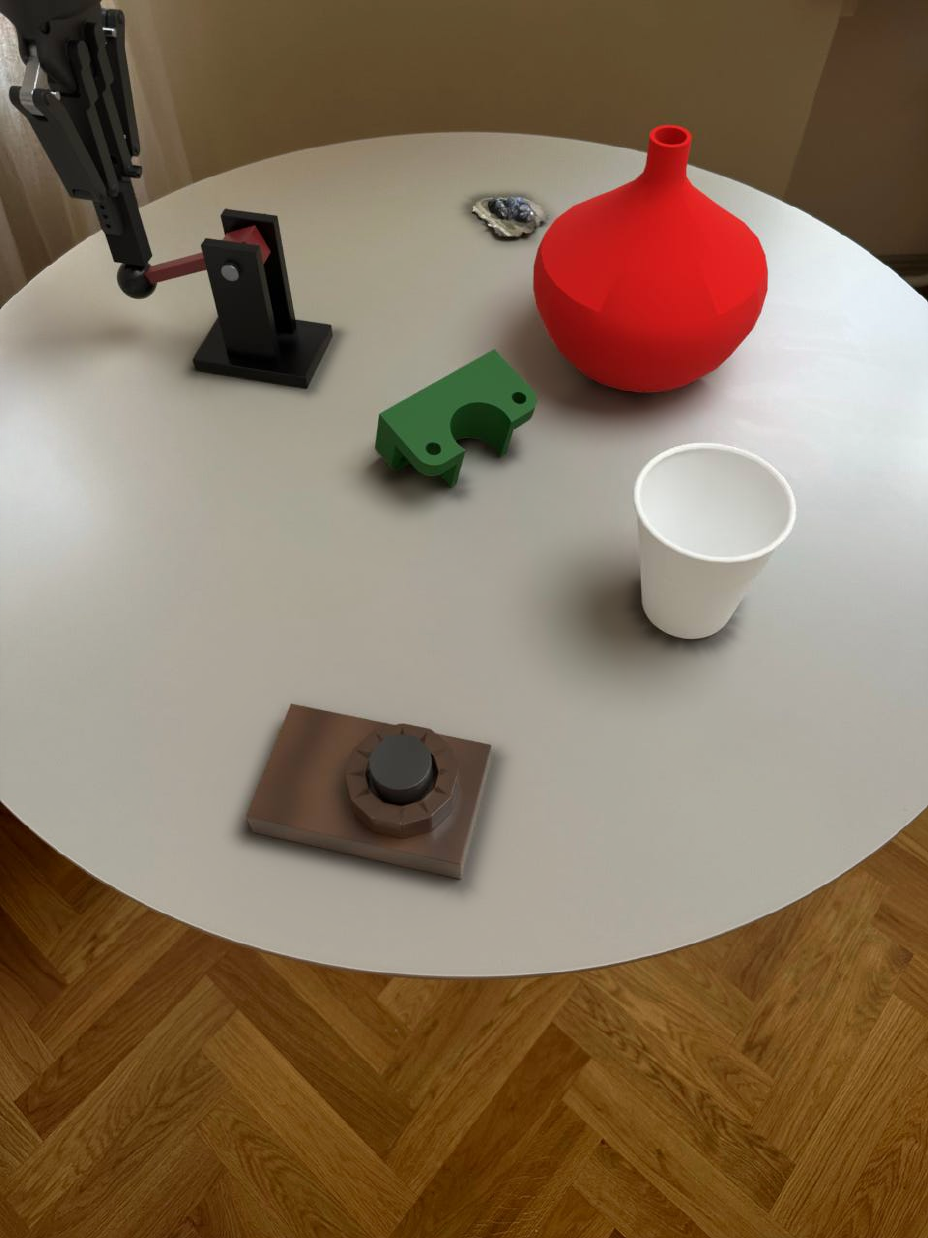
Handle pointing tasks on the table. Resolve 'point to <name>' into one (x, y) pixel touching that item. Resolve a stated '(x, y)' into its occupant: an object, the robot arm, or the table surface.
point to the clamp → (455, 417)
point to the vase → (650, 277)
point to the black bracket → (256, 310)
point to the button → (401, 768)
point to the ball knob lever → (178, 266)
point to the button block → (368, 793)
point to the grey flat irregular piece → (510, 214)
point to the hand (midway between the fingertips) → (133, 258)
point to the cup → (706, 533)
